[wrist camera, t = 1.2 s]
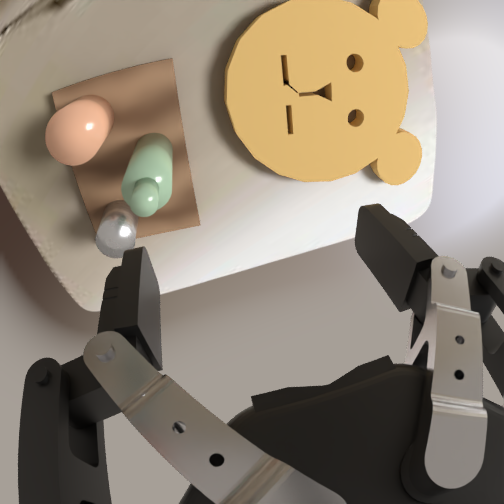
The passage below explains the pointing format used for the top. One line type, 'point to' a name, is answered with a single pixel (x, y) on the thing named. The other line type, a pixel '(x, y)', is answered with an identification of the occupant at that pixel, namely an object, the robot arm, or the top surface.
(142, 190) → the bottle
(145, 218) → the board
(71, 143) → the peach rounded cylinder
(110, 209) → the tin
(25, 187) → the top surface
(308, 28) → the decorative plaque
